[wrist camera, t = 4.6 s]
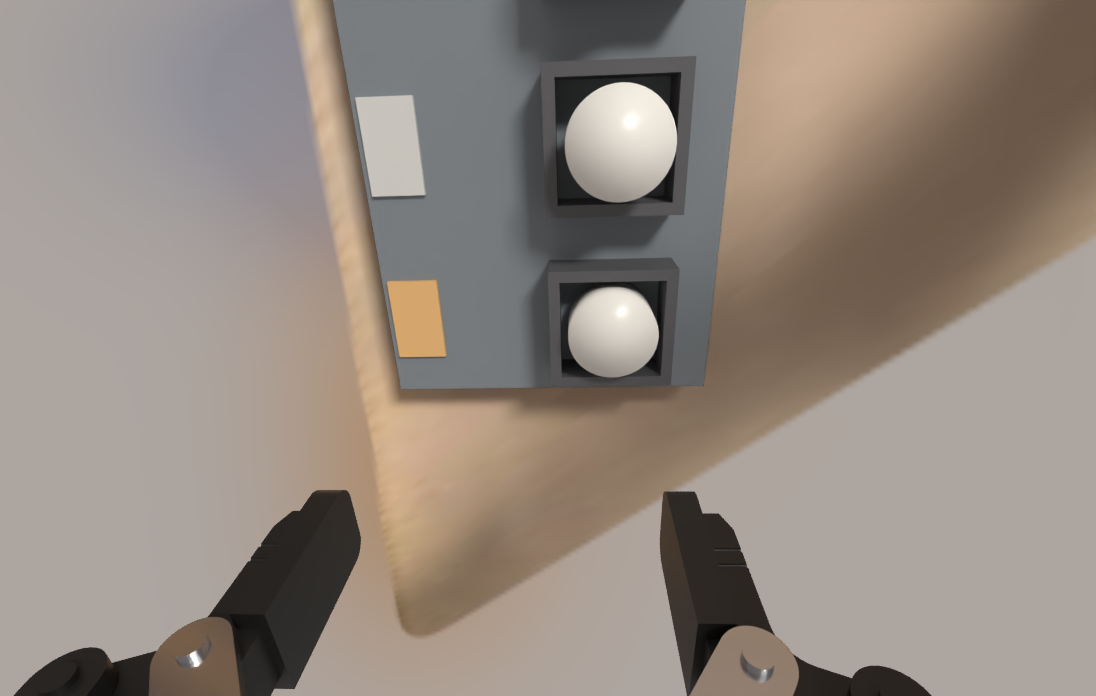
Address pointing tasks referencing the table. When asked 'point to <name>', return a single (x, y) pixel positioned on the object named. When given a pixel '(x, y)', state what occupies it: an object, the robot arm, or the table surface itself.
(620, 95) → the button
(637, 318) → the button
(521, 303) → the switch panel
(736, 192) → the table surface
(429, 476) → the table surface
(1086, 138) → the table surface
